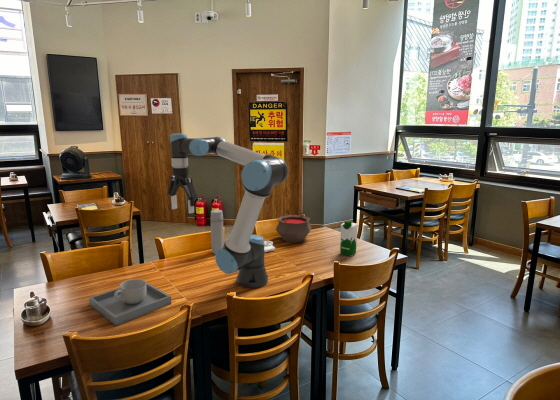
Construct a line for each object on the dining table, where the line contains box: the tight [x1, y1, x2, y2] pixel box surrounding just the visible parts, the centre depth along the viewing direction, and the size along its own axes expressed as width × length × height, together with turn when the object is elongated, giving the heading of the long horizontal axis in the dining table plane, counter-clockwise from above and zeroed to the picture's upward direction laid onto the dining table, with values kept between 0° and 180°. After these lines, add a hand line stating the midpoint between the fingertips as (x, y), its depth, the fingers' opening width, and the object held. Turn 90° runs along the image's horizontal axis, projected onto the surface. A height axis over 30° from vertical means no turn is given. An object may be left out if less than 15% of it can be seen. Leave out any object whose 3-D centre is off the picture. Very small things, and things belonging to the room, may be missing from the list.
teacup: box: [114, 278, 148, 304], centre depth 158 cm, size 14×11×8 cm
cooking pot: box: [275, 211, 312, 243], centre depth 245 cm, size 24×24×16 cm
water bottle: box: [210, 209, 225, 255], centre depth 220 cm, size 9×8×25 cm
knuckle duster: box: [264, 240, 276, 253], centre depth 227 cm, size 3×18×15 cm
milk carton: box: [339, 220, 359, 257], centre depth 219 cm, size 9×9×20 cm
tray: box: [88, 281, 172, 327], centre depth 159 cm, size 24×24×4 cm
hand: (182, 210), depth 181 cm, fingers open, 13 cm apart
